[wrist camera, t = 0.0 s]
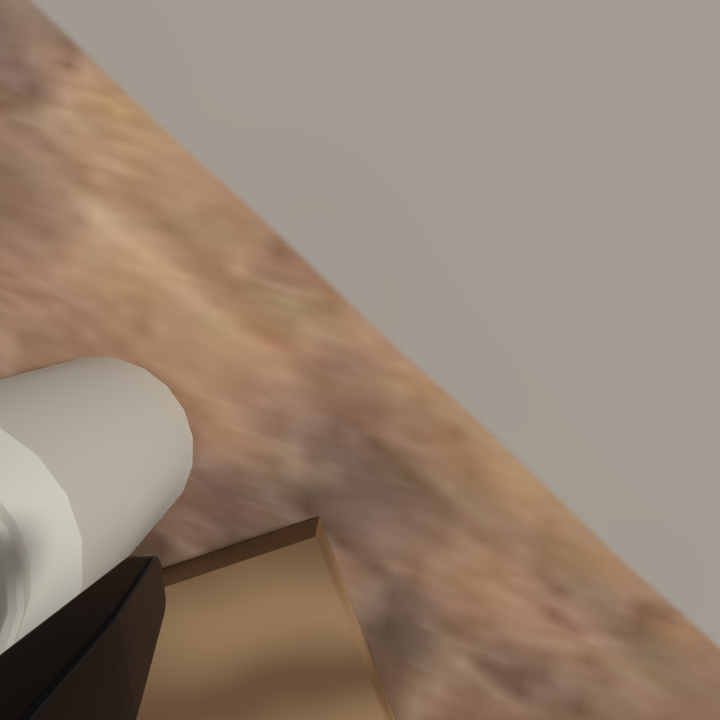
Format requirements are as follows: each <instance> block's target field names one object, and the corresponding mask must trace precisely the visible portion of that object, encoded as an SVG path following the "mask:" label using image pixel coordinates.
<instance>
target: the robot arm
mask: <svg viewBox="0 0 720 720" xmlns="http://www.w3.org/2000/svg"><path fill="white" fill-rule="evenodd" d="M165 607H166V595H165V588H164V582H163V575H162V569H161V563H160V560H159V558H158V557H157V556H155V555H131V556H128V557H127V558H125V559H124V560H123V561H121V562H120V563H119V564H117V565H116V566H115V567H114V568H112V569H111V570H110V571H108V572H107V573H106V574H104V575H103V576H102V577H101V578H99V579H98V580H97V581H95V582H94V583H93V584H91V585H90V586H89V587H88V588H86V589H85V590H84V591H82V592H81V593H80V594H78V595H77V596H76V597H75V598H73V599H72V600H71V601H69V602H68V603H67V604H65V605H64V606H63V607H62V608H60V609H59V610H58V611H56V612H55V613H54V614H52V615H51V616H50V617H49V618H47V619H46V620H45V621H43V622H42V623H41V624H39V625H38V626H37V627H35V628H34V629H33V630H32V631H30V632H29V633H28V634H26V635H25V636H24V637H22V638H21V639H20V640H19V641H17V642H16V643H15V644H13V645H12V646H11V647H9V648H8V649H7V650H6V651H4V652H3V653H2V654H0V720H136V719H137V715H138V712H139V708H140V705H141V701H142V698H143V694H144V690H145V686H146V682H147V679H148V675H149V671H150V667H151V663H152V659H153V656H154V652H155V648H156V644H157V640H158V637H159V633H160V629H161V625H162V621H163V617H164V613H165Z"/></svg>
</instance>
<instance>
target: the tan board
mask: <svg viewBox="0 0 720 720" xmlns="http://www.w3.org/2000/svg"><path fill="white" fill-rule="evenodd" d="M162 575H163V582H164V588H165V595H166V607H165V613H164V617H163V621H162V625H161V629H160V633H159V637H158V640H157V644H156V648H155V652H154V656H153V659H152V663H151V667H150V671H149V675H148V679H147V682H146V686H145V690H144V694H143V698H142V701H141V705H140V708H139V712H138V715H137V719H136V720H395V717H394V715H393V712H392V709H391V707H390V704H389V701H388V699H387V696H386V693H385V691H384V688H383V685H382V683H381V680H380V678H379V675H378V672H377V670H376V667H375V664H374V662H373V659H372V656H371V654H370V651H369V648H368V646H367V643H366V640H365V638H364V635H363V632H362V630H361V627H360V624H359V622H358V619H357V616H356V614H355V611H354V608H353V606H352V603H351V600H350V598H349V595H348V592H347V590H346V587H345V585H344V582H343V579H342V577H341V574H340V571H339V569H338V566H337V563H336V561H335V558H334V555H333V553H332V550H331V547H330V545H329V542H328V539H327V537H326V534H325V531H324V529H323V526H322V523H321V521H320V518H319V517H316V518H313V519H310V520H307V521H304V522H301V523H298V524H295V525H292V526H289V527H286V528H283V529H280V530H277V531H274V532H271V533H269V534H266V535H263V536H260V537H257V538H254V539H251V540H248V541H245V542H242V543H239V544H236V545H233V546H230V547H227V548H224V549H221V550H218V551H215V552H212V553H209V554H206V555H203V556H200V557H197V558H194V559H191V560H188V561H185V562H182V563H179V564H176V565H173V566H170V567H167V568H164V569H162Z"/></svg>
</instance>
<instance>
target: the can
mask: <svg viewBox="0 0 720 720" xmlns="http://www.w3.org/2000/svg"><path fill="white" fill-rule="evenodd" d="M192 462H193V437H192V433H191V430H190V427H189V424H188V421H187V417H186V414H185V411H184V409H183V408H182V407H181V405H180V404H179V402H178V401H177V399H176V398H175V397H174V395H173V394H172V392H171V391H170V389H169V388H168V387H167V386H166V385H165V384H163V383H162V382H161V381H160V380H158V379H157V378H156V377H154V376H153V375H152V374H151V373H149V372H148V371H147V370H145V369H144V368H141V367H139V366H136V365H133V364H131V363H128V362H125V361H123V360H120V359H117V358H106V357H88V356H87V357H83V358H79V359H75V360H71V361H68V362H64V363H60V364H56V365H52V366H49V367H45V368H41V369H37V370H33V371H30V372H26V373H22V374H18V375H14V376H11V377H7V378H3V379H0V654H2V653H3V652H4V651H6V650H7V649H8V648H9V647H11V646H12V645H13V644H15V643H16V642H17V641H19V640H20V639H21V638H22V637H24V636H25V635H26V634H28V633H29V632H30V631H32V630H33V629H34V628H35V627H37V626H38V625H39V624H41V623H42V622H43V621H45V620H46V619H47V618H49V617H50V616H51V615H52V614H54V613H55V612H56V611H58V610H59V609H60V608H62V607H63V606H64V605H65V604H67V603H68V602H69V601H71V600H72V599H73V598H75V597H76V596H77V595H78V594H80V593H81V592H82V591H84V590H85V589H86V588H88V587H89V586H90V585H91V584H93V583H94V582H95V581H97V580H98V579H99V578H101V577H102V576H103V575H104V574H106V573H107V572H108V571H110V570H111V569H112V568H114V567H115V566H116V565H117V564H119V563H120V562H121V561H123V560H124V559H125V558H127V557H128V556H130V555H131V553H132V552H133V551H134V550H135V549H136V548H137V546H138V545H139V544H140V543H141V542H142V540H143V539H144V538H145V537H146V536H147V535H148V533H149V532H150V531H151V530H152V529H153V528H154V526H155V525H156V524H157V523H158V522H159V521H160V519H161V518H162V517H163V516H164V515H165V513H166V512H167V511H168V510H169V509H170V507H171V506H172V505H173V504H174V502H175V501H176V500H177V499H178V497H179V496H180V495H181V494H182V492H183V491H184V488H185V485H186V482H187V480H188V477H189V474H190V471H191V468H192Z"/></svg>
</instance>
